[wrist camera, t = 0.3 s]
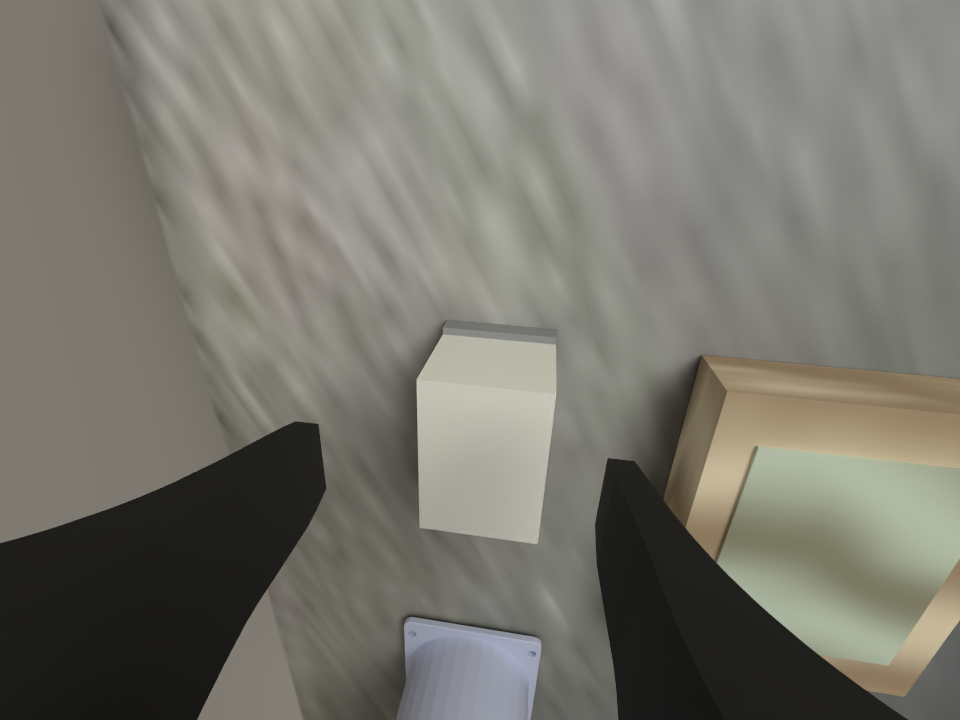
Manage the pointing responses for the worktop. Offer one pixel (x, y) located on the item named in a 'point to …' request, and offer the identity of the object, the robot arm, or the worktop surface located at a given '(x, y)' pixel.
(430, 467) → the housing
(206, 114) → the worktop surface
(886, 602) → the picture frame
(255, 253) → the worktop surface
